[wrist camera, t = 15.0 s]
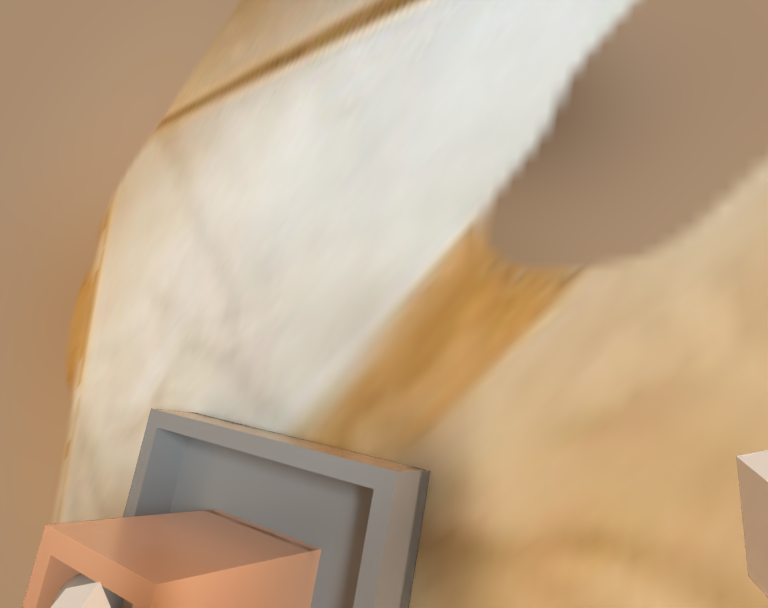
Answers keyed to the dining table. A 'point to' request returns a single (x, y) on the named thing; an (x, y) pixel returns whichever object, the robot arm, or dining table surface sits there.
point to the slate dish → (291, 499)
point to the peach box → (175, 562)
